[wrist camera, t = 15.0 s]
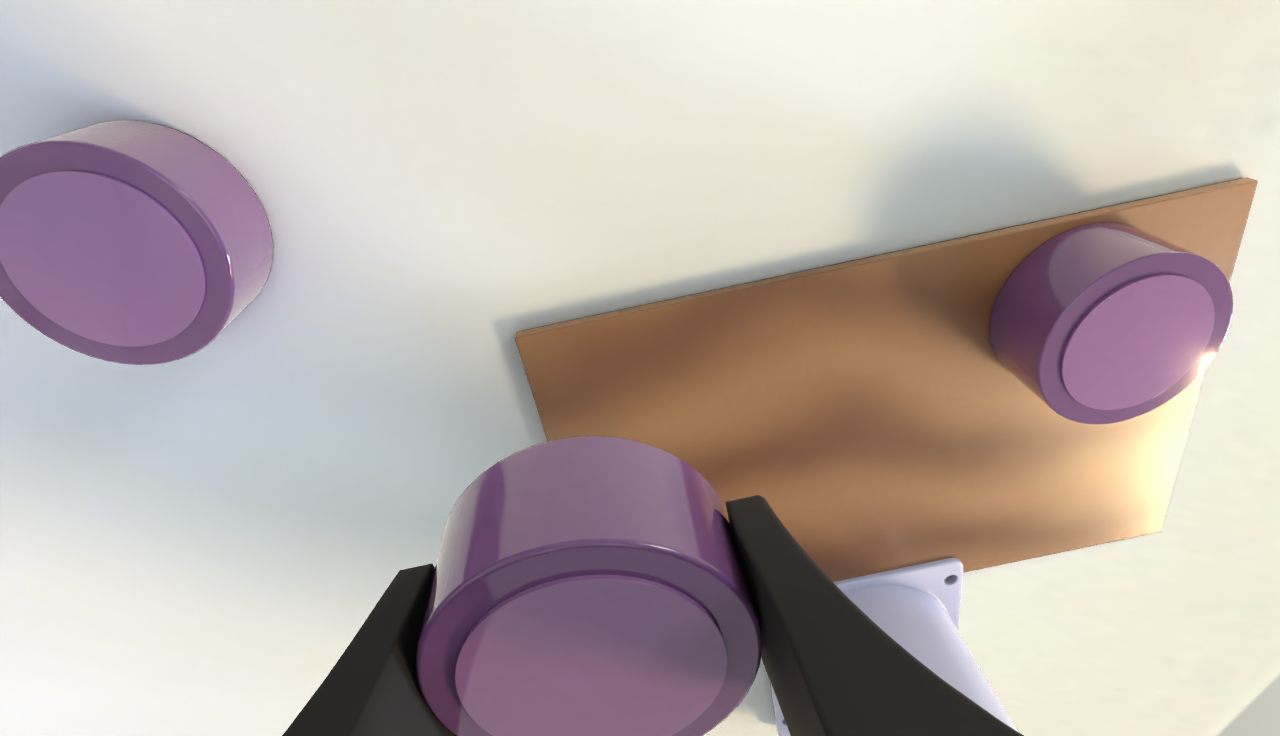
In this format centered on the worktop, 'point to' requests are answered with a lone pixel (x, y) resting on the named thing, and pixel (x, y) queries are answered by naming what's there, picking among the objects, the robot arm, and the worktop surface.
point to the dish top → (1110, 321)
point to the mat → (884, 400)
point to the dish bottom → (129, 241)
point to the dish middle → (588, 599)
